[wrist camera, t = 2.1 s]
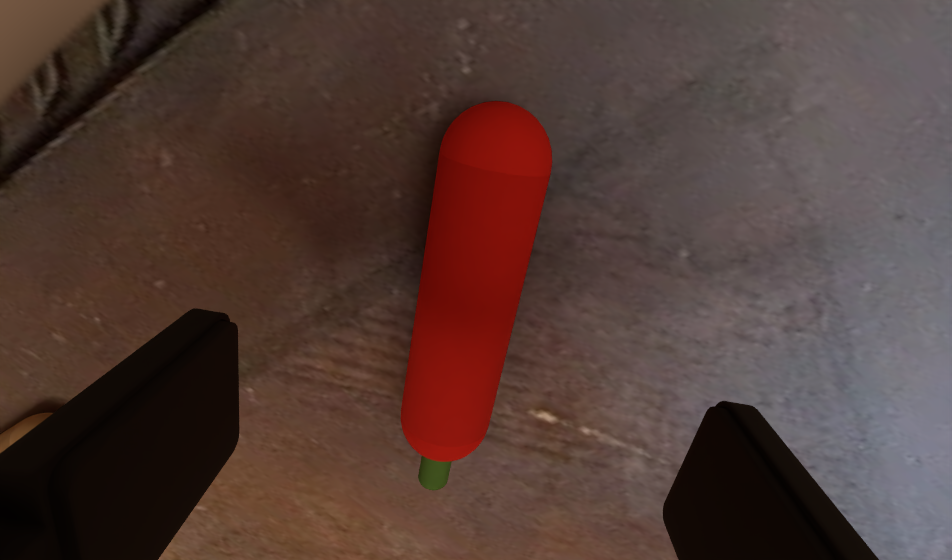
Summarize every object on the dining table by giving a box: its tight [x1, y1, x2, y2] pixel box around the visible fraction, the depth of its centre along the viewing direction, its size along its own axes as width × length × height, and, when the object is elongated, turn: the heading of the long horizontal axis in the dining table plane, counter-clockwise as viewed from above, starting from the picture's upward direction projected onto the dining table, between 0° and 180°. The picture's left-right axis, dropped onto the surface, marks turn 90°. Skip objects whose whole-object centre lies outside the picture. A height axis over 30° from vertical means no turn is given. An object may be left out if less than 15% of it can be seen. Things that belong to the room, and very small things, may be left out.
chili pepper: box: [401, 101, 552, 490], centre depth 14 cm, size 12×3×3 cm, turn 170°
